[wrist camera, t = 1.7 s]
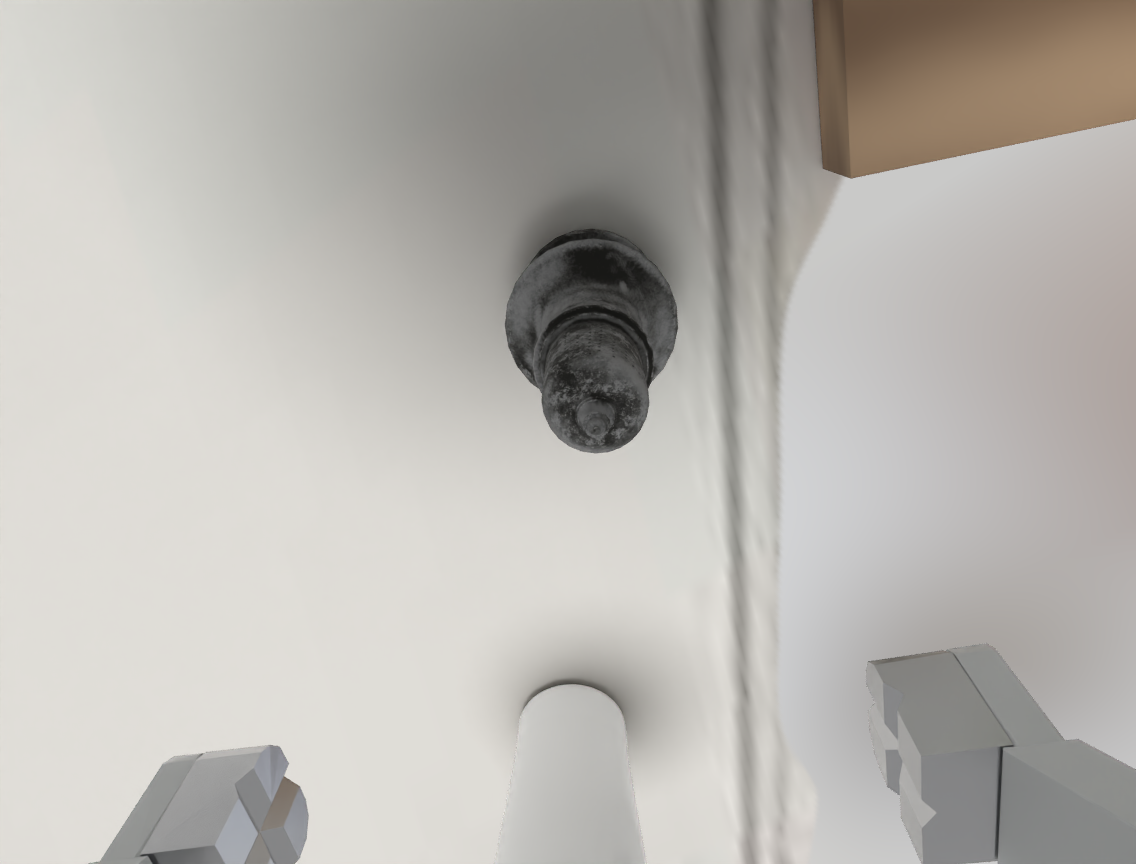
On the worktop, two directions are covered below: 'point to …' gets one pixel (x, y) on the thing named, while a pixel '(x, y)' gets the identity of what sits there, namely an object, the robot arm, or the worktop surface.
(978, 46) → the base block
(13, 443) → the worktop surface
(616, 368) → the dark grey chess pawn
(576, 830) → the drinking glass
